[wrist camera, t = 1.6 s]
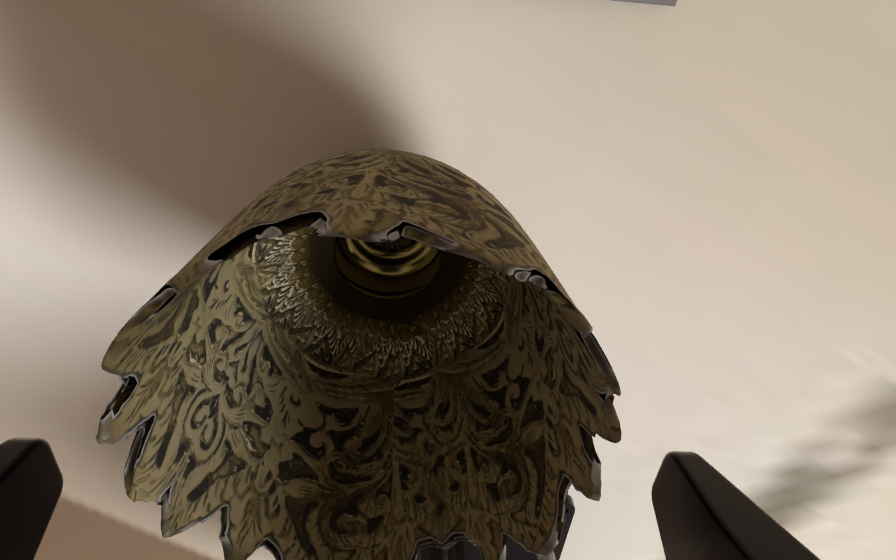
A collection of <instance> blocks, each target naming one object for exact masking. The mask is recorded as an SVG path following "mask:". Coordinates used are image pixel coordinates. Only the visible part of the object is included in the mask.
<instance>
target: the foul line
mask: <svg viewBox="0 0 896 560" xmlns="http://www.w3.org/2000/svg"><path fill="white" fill-rule="evenodd" d="M613 1H624V2H635V3H646V4H657V5H667V6H675V5H676V2H677V0H613Z"/></svg>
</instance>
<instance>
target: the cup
mask: <svg viewBox="0 0 896 560" xmlns="http://www.w3.org/2000/svg"><path fill="white" fill-rule="evenodd" d="M400 236H404V237H407V238H410V239H413V240H415V242H414V243H413V244H412V245H411V246H409V247H408V248H406V249H403V250H400V251H393V252H389V251H383V250H380V249H377V248H375V247H373V246H372V245H371V244H369V243H368V242H392V241H395V240H397V239H398V238H399V237H400ZM591 331H592V326H591V325H590V323H589V322H588V320H587V319H586V318H585V316H584V315H583V314H582V313H581V312H580V311H579V310H578V309H577V307H576V306H575V304H574V303H573V301H572V300H571V298H570V297H569V295H568V294H567V292H566V291H565V289H564V288H563V286H562V285H561V283H560V282H559V280H558V279H557V277H556V276H555V274H554V273H553V271H552V270H551V268H550V267H549V265H548V264H547V262H546V261H545V259H544V258H543V256H542V255H541V253H540V252H539V251H538V249H537V248H536V246H535V245H534V243H533V242H532V241H531V239H530V238H529V237H528V235H527V234H526V233H525V231H524V230H523V228H522V227H521V226H520V225H519V223H518V222H517V221H516V219H515V218H514V217H513V215H512V214H511V213H510V212H509V211H508V210H507V209H506V208H505V207H504V206H503V205H502V204H501V203H500V202H499V201H498V200H497V199H496V198H495V197H494V196H493V195H492V194H491V193H490V192H489V191H487V190H486V189H485V188H484V187H482V186H481V185H480V184H479V183H477V182H476V181H474V180H473V179H471V178H470V177H468V176H466V175H465V174H463V173H462V172H460V171H459V170H457V169H455V168H453V167H451V166H449V165H447V164H445V163H442V162H440V161H437V160H434V159H431V158H429V157H426V156H421V155H417V154H413V153H409V152H402V151H394V150H364V151H354V152H349V153H344V154H339V155H335V156H332V157H329V158H326V159H323V160H320V161H317V162H314V163H312V164H310V165H308V166H305V167H303V168H301V169H299V170H297V171H295V172H293V173H292V174H290V175H288V176H287V177H285V178H284V179H282V180H280V181H279V182H277V183H276V184H274V185H273V186H271V187H270V188H269V189H268V190H266V191H265V192H264V193H263V194H261V195H260V196H259V197H258V198H256V199H255V200H254V201H253V202H251V203H250V204H249V205H248V206H247V207H246V208H244V209H243V210H242V211H241V212H240V213H239V214H238V215H237V216H236V217H235V218H234V219H232V220H231V221H230V222H229V223H228V224H227V225H226V226H225V227H224V228H223V229H222V230H221V231H220V232H219V233H218V234H217V235H216V236H215V237H214V238H213V239H212V240H211V241H210V242H208V243H207V244H206V245H205V246H204V247H203V248H202V249H201V250H200V251H199V252H198V253H197V254H196V255H195V256H194V257H193V258H192V259H191V260H190V261H189V262H188V263H187V264H186V265H185V266H184V267H183V268H182V269H181V270H180V271H179V272H178V273H177V274H176V275H175V276H174V277H173V278H171V279H170V280H169V281H168V282H167V283H166V284H165V285H164V286H163V287H162V288H161V289H160V290H159V291H158V292H157V293H156V294H155V295H154V296H153V297H152V298H151V299H150V300H149V301H148V302H147V303H146V304H145V305H144V306H143V307H141V308H140V309H139V310H138V311H137V312H136V314H135V315H134V316H133V317H132V318H131V319H130V320H129V321H128V322H127V323H126V324H125V325H124V327H123V328H122V329H121V330H120V332H119V333H118V334H117V336H116V337H115V339H114V340H113V341H112V343H111V345H110V346H109V348H108V350H107V352H106V354H105V356H104V358H103V362H102V365H101V366H102V369H103V370H105V371H107V372H110V373H113V374H116V375H119V377H120V380H121V381H122V382H123V384H122V386H121V387H120V389H119V391H118V393H117V394H116V395H115V397H114V398H113V399H112V400H111V401H110V402H109V404H108V406H107V408H106V410H105V412H104V414H103V415H102V417H101V419H100V424H99V429H98V434H97V436H96V439H97V441H98V443H99V444H109V445H117V444H118V443H120V442H121V441H123V440H126V439H127V438H128V437H129V436H130V434H132V433H134V432H137V433H136V436H135V438H134V440H133V444H132V446H131V449H130V453H129V456H128V460H127V462H126V465H125V469H124V480H125V488H126V493H127V496H128V497H129V498H130V499H131V500H132V501H134V502H136V501H145V502H148V501H156V502H157V504H158V505H162V509H161V531H162V536H163V537H164V538H168V537H171V536H173V535H176V534H179V533H181V532H183V531H185V530H187V529H188V528H190V527H192V526H193V525H195V524H197V523H198V522H201V523H203V522H204V521H205V520H206V519H209V518H210V517H212V516H213V515H214V514H215V513H217V511H219V510H221V531H220V535H219V538H220V540H221V542H222V546H223V551H224V558H225V560H246V559H247V558H248V557H250V556H251V555H252V554H253V552H254V551H255V550H256V549H258V548H259V547H260V546H263V547H265V548H266V549H267V550H269V551H270V552H271V553H272V554H273V556H274V557H275V559H276V560H416V558H417V555H418V553H419V552H420V550H421V549H424V548H426V547H429V546H431V547H437V548H442V549H445V550H447V549H449V548H451V547H452V546H453V545H454V544H455V543H456V542H458V541H470V542H471V543H472V544H473V545H474V546H477V547H478V548H479V550H480V554H481V558H482V560H506V556H507V549H508V538H509V537H510V538H512V539H513V540H514V541H515V542H513V543H514V544H515V545H516V546H518V547H521V548H524V550H525V551H527V552H531V553H534V554H536V555H538V556H545V557H546V556H549V555H550V554H551V552H552V551H553V550H554V548H555V547H556V545H557V544H558V543H559V541H560V539H561V535H562V531H563V526H564V523H565V518H566V498H567V494H568V489H569V487H570V485H571V483H572V485H573V486H574V488H575V489H576V491H580V492H582V494H583V495H584V496H586V497H587V498H589V499H592V500H595V501H600V497H601V462H600V460H599V458H598V456H597V453H596V451H595V448H594V444H593V439H592V436H593V437H595V435H596V433H597V434H598V435H599V436H600V437H602V438H604V439H606V440H608V441H610V442H613V443H618V442H619V441H620V440H621V428H620V423H619V419H618V417H617V414H616V411H615V408H614V406H613V400H614V396H613V394H616V395H618V396H620V394H621V392H620V387H619V383H618V381H617V378H616V376H615V373H614V371H613V369H612V367H611V365H610V363H609V361H608V359H607V357H606V356H605V354H604V352H603V350H602V349H601V347H600V345H599V343H598V341H597V340H596V338H595V337H594V335H593V334H592V332H591ZM462 537H466V538H467V539H468V540H463V539H456V538H462ZM455 539H456V540H455ZM516 542H517V543H516ZM262 543H263V544H262ZM430 543H435V544H430ZM518 543H519V544H518ZM260 544H261V545H260ZM425 544H430V545H427V546H425V547H422V548H421V549H420V550H419V551H418V549H419V547H420V546H421V545H425ZM258 545H260V546H259V547H258ZM521 545H522V546H521ZM257 547H258V548H257Z"/></svg>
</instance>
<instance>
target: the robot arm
mask: <svg viewBox="0 0 896 560" xmlns="http://www.w3.org/2000/svg"><path fill="white" fill-rule="evenodd" d="M62 488H63V477H62V474H61V471H60V469H59V467H58V464H57V462H56V459H55V457H54V455H53V452H52V450H51V447H50V445H49V443H48V442H47V441H45V440H44V439H41V438H13V439H10V440H7V441H5V442H3V443H2V444H0V560H34V558H35V556H36V554H37V551H38V549H39V546H40V544H41V541H42V539H43V536H44V534H45V531H46V529H47V527H48V524H49V522H50V520H51V517H52V515H53V512H54V510H55V507H56V505H57V503H58V500H59V498H60V495H61V492H62ZM652 502H653V506H654V511H655V515H656V519H657V523H658V527H659V531H660V536H661V540H662V544H663V548H664V552H665V556H666V560H820V559H819V558H818V557H817V556H815V555H814V554H813V553H812V552H811V551H810V550H809V549H807V548H806V547H805V546H804V545H803V544H802V543H800V542H799V541H798V540H797V539H796V538H795V537H793V536H792V535H791V534H790V533H789V532H788V531H787V530H785V529H784V528H783V527H782V526H781V525H780V524H778V523H777V522H776V521H775V520H774V519H773V518H771V517H770V516H769V515H768V514H767V513H766V512H765V511H763V510H762V509H761V508H760V507H759V506H758V505H756V504H755V503H754V502H753V501H752V500H751V499H749V498H748V497H747V496H746V495H745V494H744V493H743V492H741V491H740V490H739V489H738V488H737V487H736V486H734V485H733V484H732V483H731V482H730V481H729V480H727V479H726V478H725V477H724V476H723V475H722V474H720V473H719V472H718V471H717V470H716V469H715V468H714V467H712V466H711V465H710V464H709V463H708V462H707V461H705V460H704V459H703V458H702V457H701V456H699V455H698V454H696V453H694V452H677V451H672V452H669V453H668V454H666V455H665V457H664V459H663V462H662V464H661V466H660V469H659V471H658V474H657V476H656V478H655V481H654V483H653V486H652ZM574 512H575V507H574V503H573V500H572V498H571V496H569V495H567V498H566V518H565V523H564V526H563V531H562V535H561V539H560V541H559V543H558V544H557V545H556V547H555V548H554V550H553V551H552V552H551V554H550V555H549V556H546V557H545V556H538V555H536V554H534V553H531V552H527V551H525V550H524V548H521V547H518V546H516V545H515V544H514V543H513V542H515V541H514V540H513V539H512V538H510V537H509V538H508V549H507V556H506V560H559V558H560V555H561V552H562V549H563V546H564V543H565V540H566V537H567V534H568V531H569V528H570V525H571V522H572V518H573V515H574ZM456 539H463V540H468V539H467V538H466V537H462V538H456ZM456 539H455V540H456ZM516 543H517V542H516ZM430 544H435V543H430ZM430 544H425V545H421V546H420V547H419V549H418V551H419V550H420V549H421V548H422V547H425V546H427V545H430ZM518 544H519V543H518ZM521 546H522V545H521ZM416 560H482V558H481V554H480V550H479V548H478V547H477V546H474V545H473V544H472V543H471V542H470V541H458V542H456V543H455V544H454V545H453V546H452V547H451V548H449V549H447V550H445V549H442V548H437V547H431V546H429V547H426V548H424V549H421V550H420V552H419V553H418V555H417V558H416Z"/></svg>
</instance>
